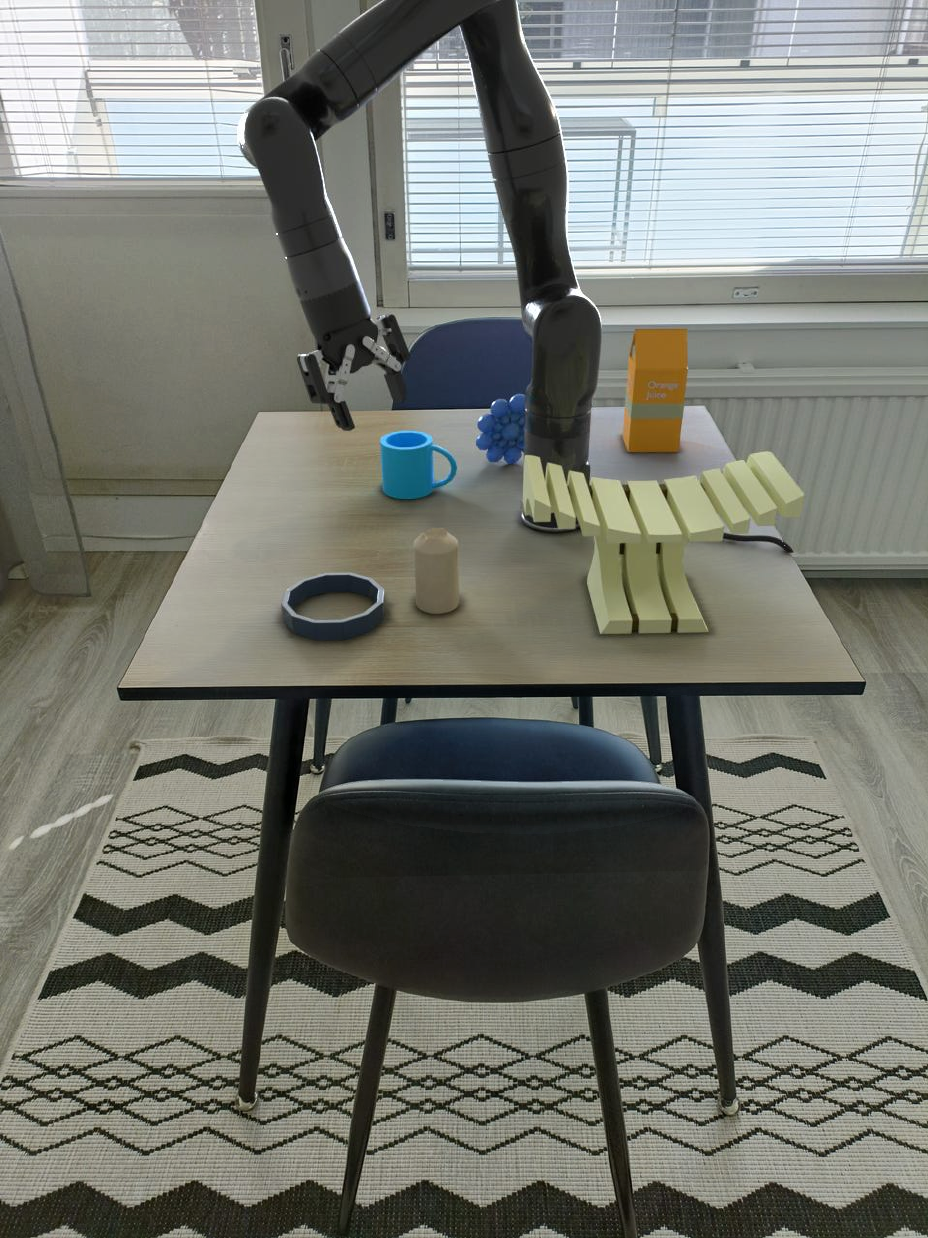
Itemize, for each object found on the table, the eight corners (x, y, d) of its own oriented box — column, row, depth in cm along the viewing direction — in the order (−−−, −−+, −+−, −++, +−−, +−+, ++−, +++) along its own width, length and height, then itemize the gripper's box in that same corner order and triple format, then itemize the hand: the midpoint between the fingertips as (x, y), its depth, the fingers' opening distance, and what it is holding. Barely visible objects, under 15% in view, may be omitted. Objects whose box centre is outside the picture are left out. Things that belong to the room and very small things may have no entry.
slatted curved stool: (743, 568, 129) (763, 442, 120) (778, 630, 116) (804, 494, 106) (521, 571, 129) (524, 446, 120) (530, 635, 115) (534, 498, 106)
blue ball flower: (543, 453, 165) (545, 385, 159) (546, 468, 159) (548, 398, 153) (475, 454, 165) (475, 385, 159) (476, 469, 159) (475, 399, 153)
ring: (386, 588, 125) (385, 571, 124) (381, 639, 115) (380, 621, 114) (291, 590, 125) (289, 573, 124) (278, 641, 115) (275, 623, 113)
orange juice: (679, 452, 165) (692, 334, 155) (627, 452, 165) (637, 335, 155) (671, 435, 172) (683, 322, 161) (621, 435, 172) (630, 322, 161)
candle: (454, 616, 119) (452, 544, 114) (411, 612, 120) (407, 540, 115) (463, 594, 124) (462, 524, 119) (421, 590, 125) (419, 521, 120)
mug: (377, 497, 150) (374, 447, 146) (389, 477, 157) (387, 429, 153) (452, 502, 148) (451, 452, 144) (461, 481, 155) (461, 433, 151)
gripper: (296, 306, 106) (347, 441, 114) (392, 262, 113) (435, 392, 120) (263, 309, 112) (314, 438, 119) (356, 267, 118) (399, 391, 126)
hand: (375, 415), depth 120 cm, fingers open, 8 cm apart
